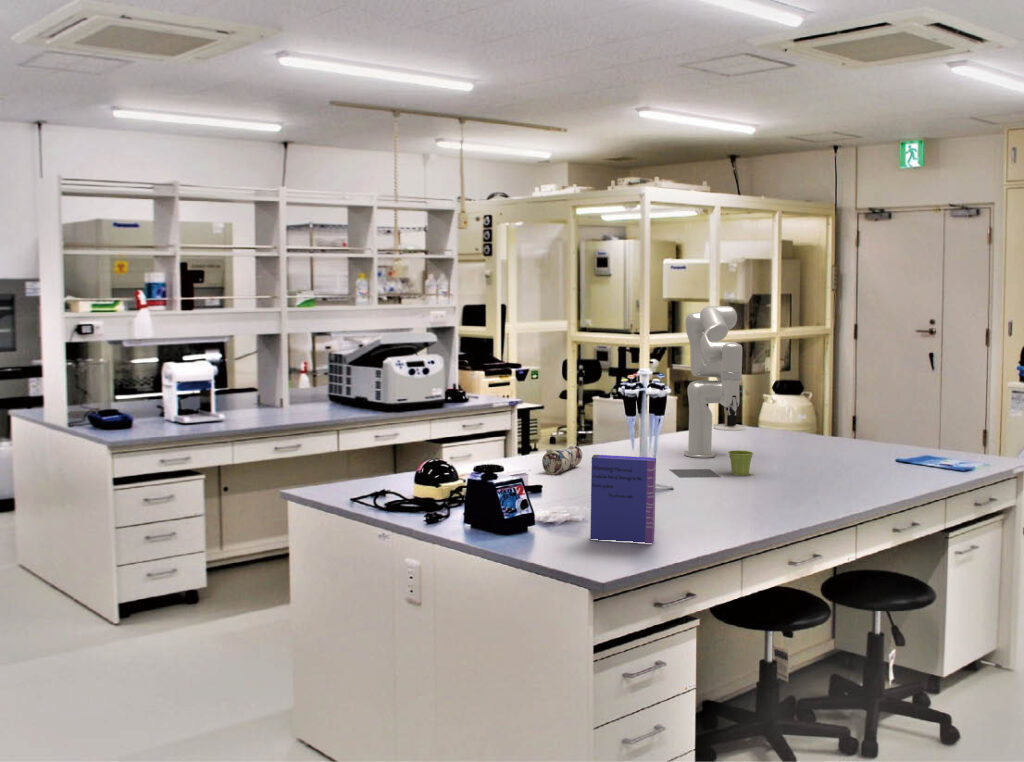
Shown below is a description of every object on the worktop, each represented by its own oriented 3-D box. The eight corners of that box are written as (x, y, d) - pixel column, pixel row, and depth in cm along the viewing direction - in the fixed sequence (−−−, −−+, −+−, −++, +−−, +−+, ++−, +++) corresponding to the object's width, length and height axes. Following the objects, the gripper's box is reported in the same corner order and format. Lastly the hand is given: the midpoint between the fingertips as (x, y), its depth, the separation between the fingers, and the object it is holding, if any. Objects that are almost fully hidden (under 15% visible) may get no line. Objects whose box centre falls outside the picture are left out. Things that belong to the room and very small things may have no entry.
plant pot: (724, 475, 386) (725, 453, 385) (731, 471, 394) (732, 449, 393) (749, 478, 382) (749, 455, 381) (755, 474, 390) (756, 451, 389)
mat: (668, 470, 396) (668, 469, 396) (709, 470, 397) (709, 469, 397) (679, 478, 380) (679, 477, 380) (721, 478, 381) (721, 477, 381)
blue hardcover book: (654, 541, 289) (656, 457, 287) (652, 545, 285) (654, 460, 282) (593, 536, 294) (594, 453, 291) (590, 540, 289) (591, 456, 287)
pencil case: (561, 476, 383) (561, 450, 382) (540, 474, 387) (541, 448, 386) (583, 466, 403) (583, 442, 402) (563, 465, 406) (563, 440, 405)
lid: (709, 426, 392) (710, 408, 391) (740, 426, 393) (741, 408, 392) (717, 431, 380) (718, 412, 379) (749, 431, 381) (750, 412, 380)
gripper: (715, 374, 392) (714, 421, 394) (727, 378, 376) (725, 428, 378) (735, 374, 393) (733, 421, 395) (747, 378, 376) (745, 428, 378)
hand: (729, 424), depth 386 cm, fingers closed on lid, 3 cm apart
